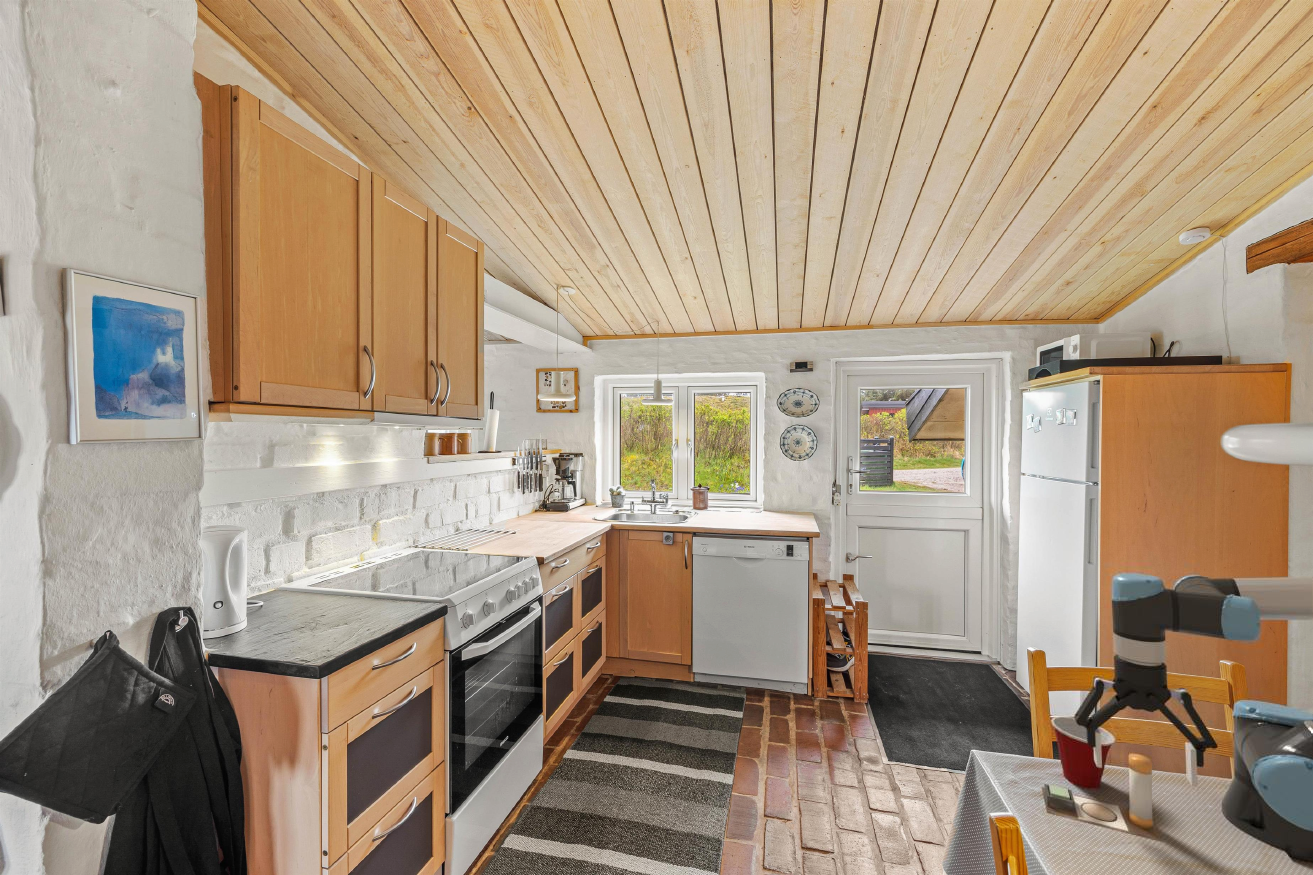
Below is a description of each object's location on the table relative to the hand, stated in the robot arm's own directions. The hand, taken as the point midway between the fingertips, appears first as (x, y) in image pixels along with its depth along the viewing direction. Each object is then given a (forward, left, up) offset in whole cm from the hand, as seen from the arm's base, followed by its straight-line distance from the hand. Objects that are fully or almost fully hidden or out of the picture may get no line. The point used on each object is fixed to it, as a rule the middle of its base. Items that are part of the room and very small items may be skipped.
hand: (1143, 772), depth 106 cm
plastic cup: (+7, -12, -11) cm, 17 cm away
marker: (0, 0, -10) cm, 10 cm away
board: (+7, 0, -11) cm, 13 cm away
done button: (+13, 0, -9) cm, 16 cm away
